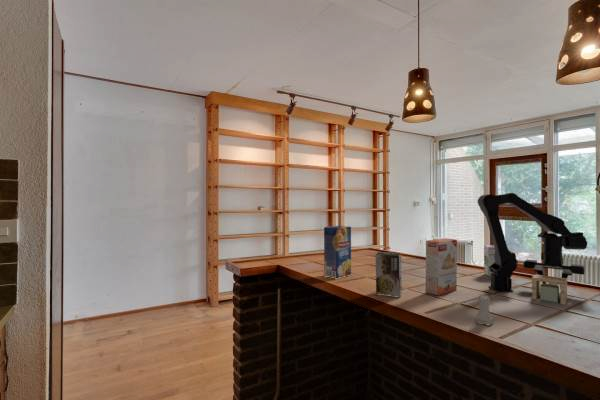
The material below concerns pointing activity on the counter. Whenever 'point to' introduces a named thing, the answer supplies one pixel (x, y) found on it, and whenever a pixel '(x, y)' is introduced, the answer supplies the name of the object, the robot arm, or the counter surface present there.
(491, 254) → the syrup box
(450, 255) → the cracker box
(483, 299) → the rook chess piece
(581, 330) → the counter surface
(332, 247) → the blue food box
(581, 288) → the counter surface
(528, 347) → the counter surface
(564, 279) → the shelf lane
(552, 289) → the tethered block
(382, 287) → the coffee box
